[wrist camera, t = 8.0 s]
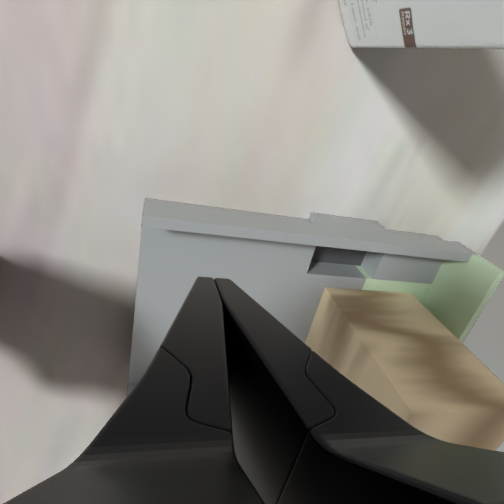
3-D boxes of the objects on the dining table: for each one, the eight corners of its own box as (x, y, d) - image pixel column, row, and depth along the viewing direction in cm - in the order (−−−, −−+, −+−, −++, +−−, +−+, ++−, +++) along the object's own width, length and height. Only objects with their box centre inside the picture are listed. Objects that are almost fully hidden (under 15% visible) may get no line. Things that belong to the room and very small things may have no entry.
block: (304, 343, 27) (372, 482, 18) (325, 287, 24) (412, 414, 16) (385, 344, 29) (480, 470, 20) (410, 292, 26) (529, 408, 18)
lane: (129, 368, 27) (121, 442, 22) (145, 190, 21) (139, 235, 16) (372, 368, 33) (410, 427, 28) (440, 230, 27) (505, 272, 22)
